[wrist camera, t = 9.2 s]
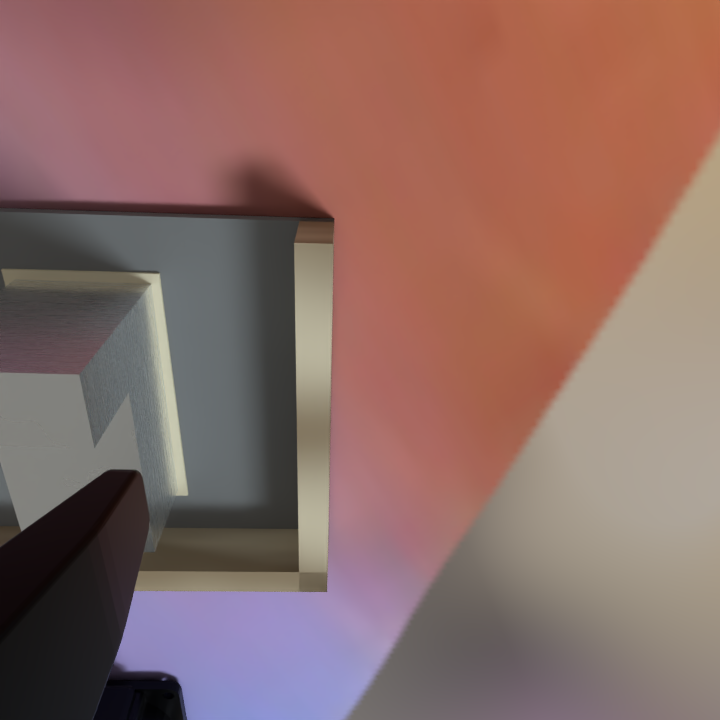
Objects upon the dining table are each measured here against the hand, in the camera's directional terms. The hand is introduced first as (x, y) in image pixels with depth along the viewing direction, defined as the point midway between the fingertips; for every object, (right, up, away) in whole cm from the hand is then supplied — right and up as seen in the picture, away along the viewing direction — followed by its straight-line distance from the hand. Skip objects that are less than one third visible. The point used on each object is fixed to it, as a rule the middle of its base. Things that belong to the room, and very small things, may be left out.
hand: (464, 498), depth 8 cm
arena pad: (-9, +1, +12) cm, 15 cm away
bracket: (-10, +1, +11) cm, 15 cm away
